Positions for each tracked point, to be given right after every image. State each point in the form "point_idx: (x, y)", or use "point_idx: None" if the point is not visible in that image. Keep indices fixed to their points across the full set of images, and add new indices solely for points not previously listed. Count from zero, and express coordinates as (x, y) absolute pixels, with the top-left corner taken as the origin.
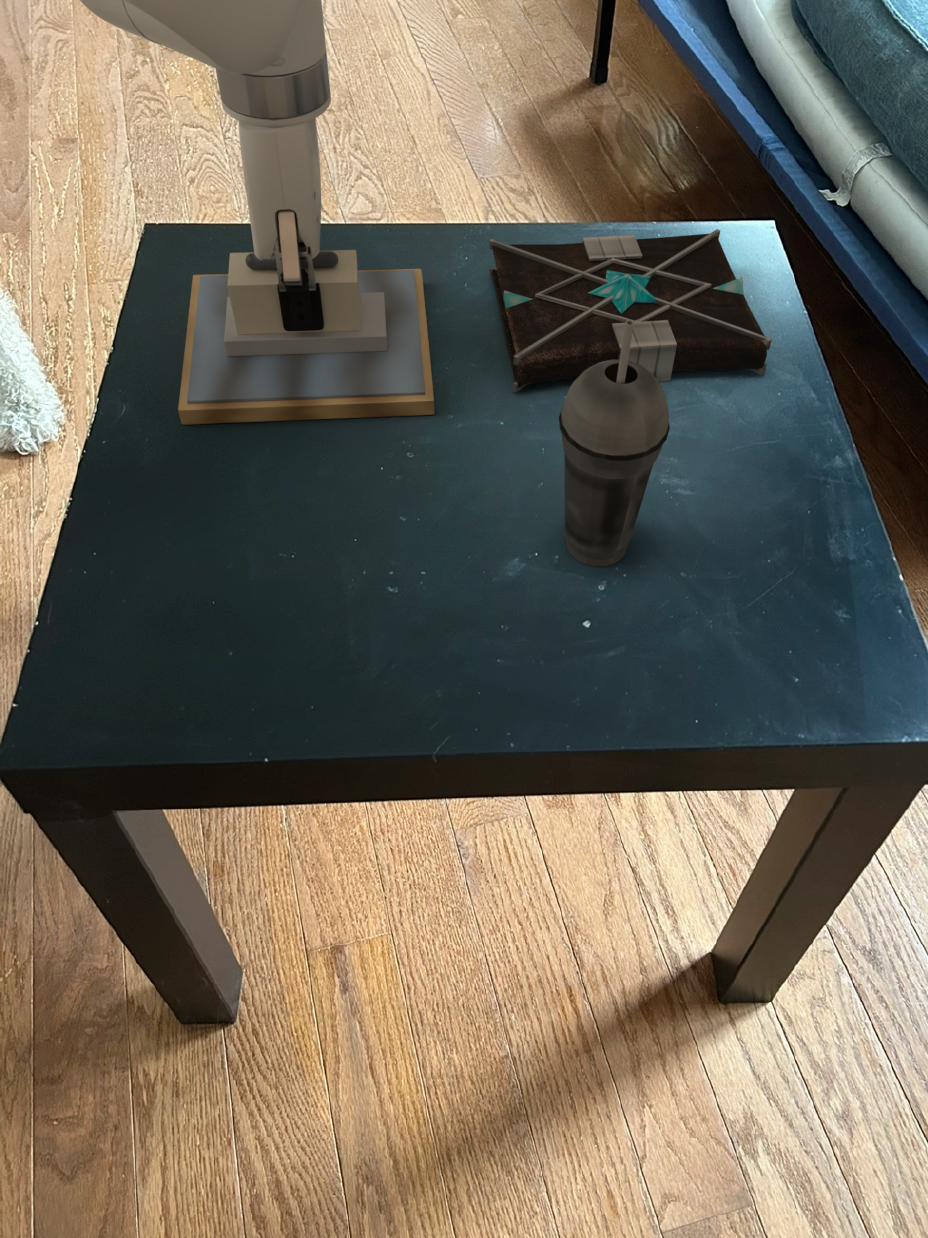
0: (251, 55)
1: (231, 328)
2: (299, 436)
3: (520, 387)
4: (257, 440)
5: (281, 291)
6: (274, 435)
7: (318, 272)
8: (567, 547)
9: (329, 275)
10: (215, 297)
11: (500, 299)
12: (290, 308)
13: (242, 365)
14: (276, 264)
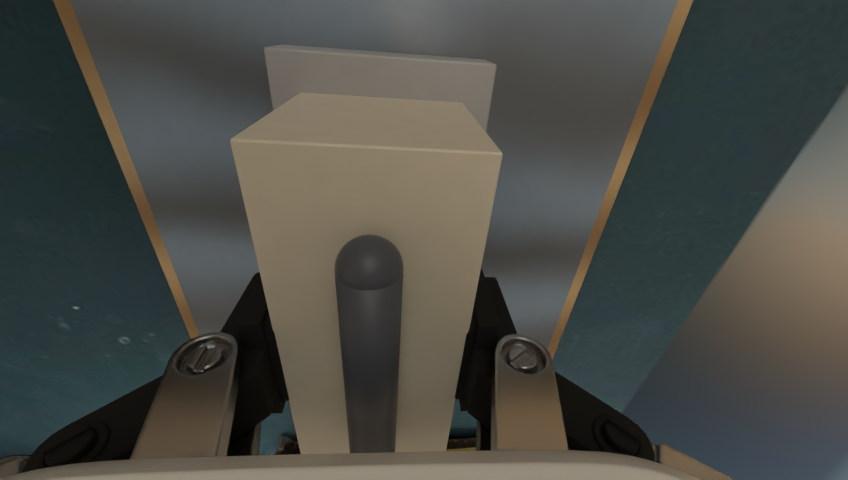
0: None
1: (330, 75)
2: (113, 190)
3: (285, 444)
4: (67, 103)
5: (187, 345)
6: (98, 141)
7: (343, 406)
8: (12, 457)
9: (327, 425)
10: (565, 11)
11: (454, 444)
12: (235, 307)
13: (248, 89)
14: (137, 447)
